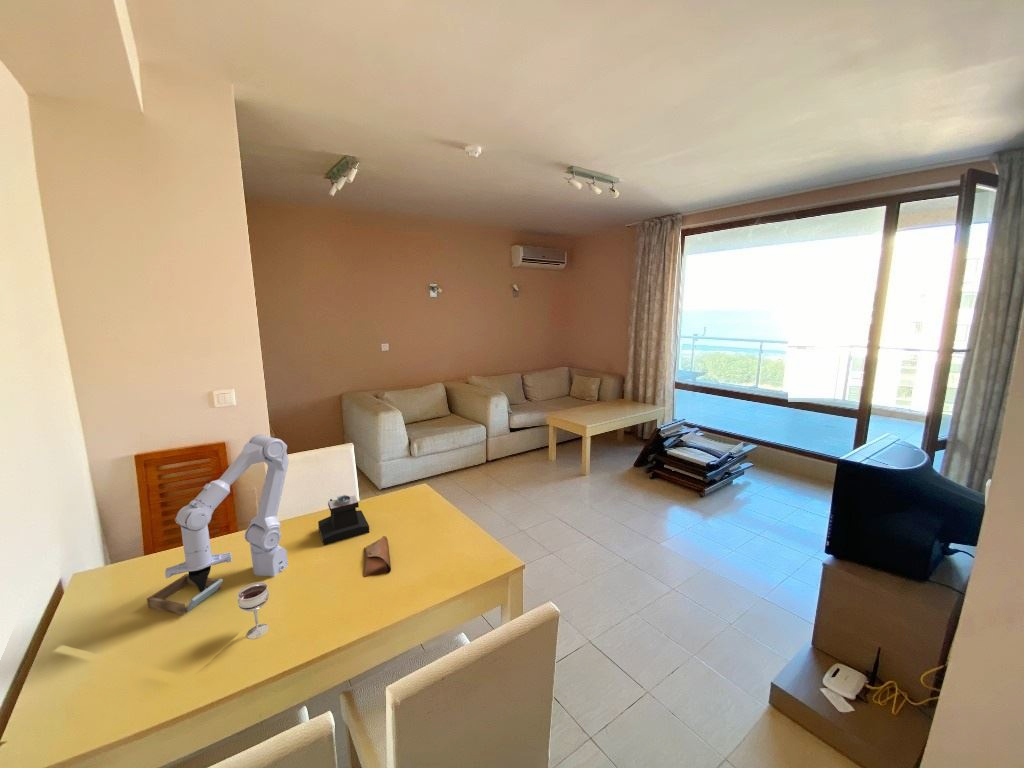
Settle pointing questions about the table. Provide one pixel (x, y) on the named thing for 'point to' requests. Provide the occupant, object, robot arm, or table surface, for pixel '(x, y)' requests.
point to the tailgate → (204, 595)
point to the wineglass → (254, 605)
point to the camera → (342, 521)
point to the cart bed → (170, 606)
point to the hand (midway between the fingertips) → (203, 591)
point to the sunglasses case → (377, 558)
